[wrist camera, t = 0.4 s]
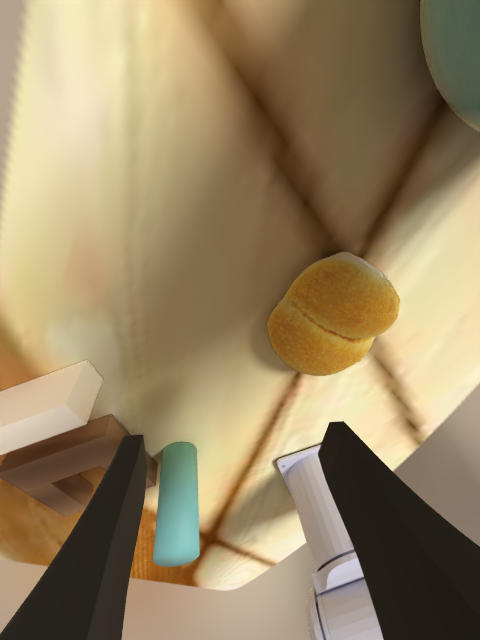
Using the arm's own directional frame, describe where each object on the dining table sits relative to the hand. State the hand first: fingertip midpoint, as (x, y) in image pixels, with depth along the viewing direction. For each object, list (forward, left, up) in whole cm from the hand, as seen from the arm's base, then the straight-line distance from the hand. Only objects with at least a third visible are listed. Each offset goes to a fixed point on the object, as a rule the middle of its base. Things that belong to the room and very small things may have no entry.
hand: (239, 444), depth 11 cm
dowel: (-13, +9, -10) cm, 18 cm away
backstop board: (-1, +16, -10) cm, 18 cm away
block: (-9, +16, -10) cm, 21 cm away
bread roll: (-3, -7, -10) cm, 13 cm away
